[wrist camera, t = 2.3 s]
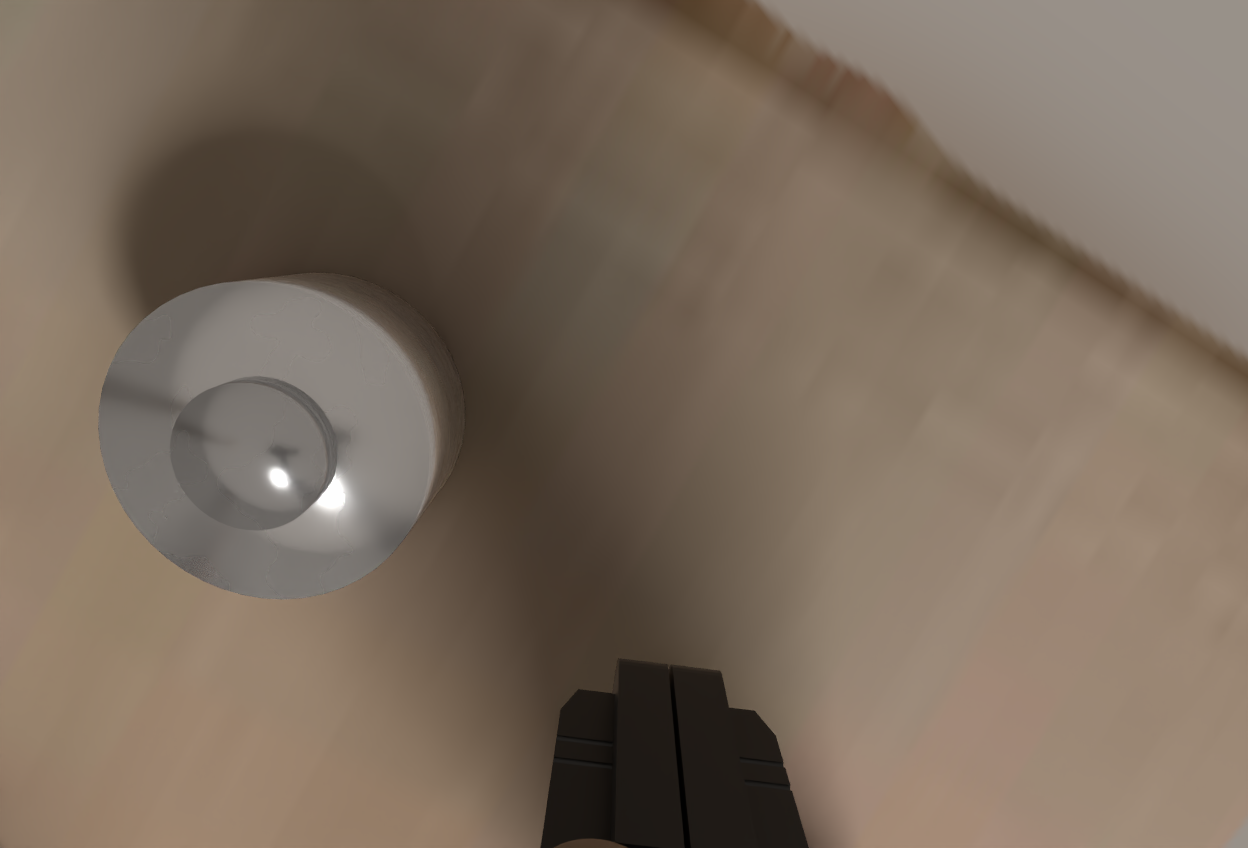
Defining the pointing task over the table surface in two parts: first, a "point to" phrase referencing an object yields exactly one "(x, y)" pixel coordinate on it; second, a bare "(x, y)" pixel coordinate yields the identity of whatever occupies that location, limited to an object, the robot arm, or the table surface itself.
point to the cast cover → (281, 430)
